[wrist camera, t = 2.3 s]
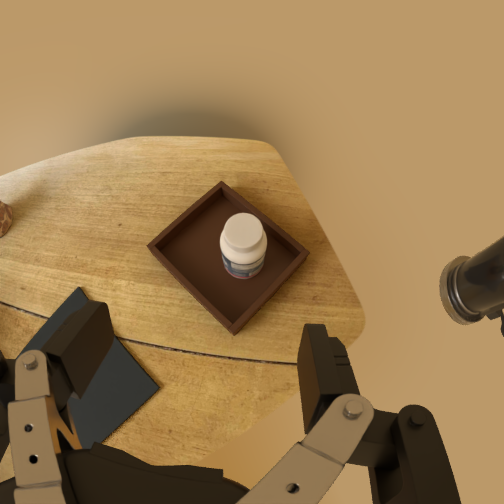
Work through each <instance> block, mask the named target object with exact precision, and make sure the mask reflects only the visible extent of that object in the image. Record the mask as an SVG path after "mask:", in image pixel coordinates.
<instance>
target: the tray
mask: <svg viewBox="0 0 504 504" xmlns="http://www.w3.org/2000/svg"><path fill="white" fill-rule="evenodd" d="M239 213H248V214H252V215H254V216H255V217H257V218H258V219H259V220H260V222H261V224H262V226H263V230H264V231H265V234H266V237H267V247H266V252H265V258H264V264H263V267H262V269H261V271H260V272H259V273H258V274H257V275H255V276H253V277H251V278H247V279H240V278H236V277H234V276H232V275H231V274H230V273H229V272H228V271H227V270H226V268H225V266H224V263H223V258H222V253H221V248H220V237H221V234H222V231H223V230H224V226H225V224H226V222H227V220H228V219H229V218H230V217H232V216H233V215H236V214H239ZM147 247H148V249H149V250H150V251H151V253H152V254H153V255H154V256H155V257H156V258H157V259H158V260H159V261H160V262H161V264H162V265H163V266H164V267H165V268H166V269H167V270H168V271H169V272H170V273H171V274H172V275H173V276H174V277H175V278H176V279H177V280H178V281H179V282H180V283H181V284H182V285H183V286H184V287H185V289H186V290H187V291H188V292H189V293H190V294H191V295H192V296H193V297H194V298H195V299H196V300H197V301H198V302H199V303H200V304H201V305H202V306H203V307H204V308H205V309H207V310H208V311H209V312H210V313H211V314H212V315H213V316H214V317H215V318H216V319H217V320H218V321H219V322H220V323H221V324H222V325H223V326H224V327H225V328H226V329H227V330H228V331H229V332H230V333H232V334H233V335H235V334H236V333H237V332H238V331H239V330H240V329H241V328H242V327H243V326H244V325H245V324H246V323H247V322H248V321H249V320H250V319H251V318H252V317H253V316H254V315H255V314H256V313H257V312H258V311H259V310H260V309H261V307H262V306H263V305H264V304H265V303H266V302H267V301H268V300H269V299H270V298H271V297H272V296H273V295H274V294H275V293H276V292H277V290H278V289H279V288H280V287H281V286H282V285H283V284H284V283H285V282H286V281H287V280H288V279H289V278H290V276H291V275H292V274H293V273H294V272H295V271H296V270H297V269H298V268H299V267H300V266H301V264H302V263H303V262H304V261H305V260H306V258H307V256H308V255H309V251H308V250H306V249H305V248H304V247H303V246H302V245H301V244H299V243H298V242H297V241H296V240H295V239H293V238H292V237H291V236H290V235H288V234H287V233H286V232H285V231H284V230H282V229H281V228H280V227H279V226H278V225H276V224H275V223H274V222H273V221H271V220H270V219H269V218H268V217H266V216H265V215H264V214H263V213H262V212H260V211H259V210H258V209H257V208H255V207H254V206H253V205H252V204H250V203H249V202H248V201H247V200H245V199H244V198H243V197H242V196H240V195H239V194H238V193H237V192H235V191H234V190H233V189H231V188H230V187H229V186H228V185H226V184H225V183H224V182H223V181H220V182H219V183H218V184H217V185H216V186H214V187H213V188H212V189H211V190H210V191H208V192H207V193H206V194H205V195H204V196H202V197H201V198H200V199H199V200H198V201H196V202H195V203H194V204H193V205H192V206H191V207H189V208H188V209H187V210H186V211H185V212H184V213H182V214H181V215H180V216H179V217H178V218H177V219H176V220H174V221H173V222H172V223H171V224H170V225H169V226H168V227H167V228H165V229H164V230H163V231H162V232H161V233H160V234H159V235H158V236H157V237H156V238H154V239H153V240H152V241H151V242H150V243H149V244H148V245H147Z"/></svg>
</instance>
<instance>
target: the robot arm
mask: <svg viewBox="0 0 504 504" xmlns="http://www.w3.org/2000/svg"><path fill="white" fill-rule="evenodd" d="M452 288H453V294H454V297H455V299H456V302H457V304H458V305H459V307H460V308H461V309H462V310H463V311H464V312H465V313H467V314H470V315H477V316H478V317H482V316H485V315H486V316H487V317H488V318H489V319H490V320H492V319H495V318H498V317H500V316H501V320H502V326H501V332H502V335H503V336H504V314H503V312H502V309H504V236H503V237H501V238H500V239H498V240H497V241H496V242H494V243H493V244H491V245H490V246H488V247H487V248H485V249H484V250H482V251H481V252H479V253H477V254H476V255H475V256H473V257H472V258H470V259H468V260H466V261H464V262H462V263H461V264H459V265H458V266H457V267H456V269H455V271H454V273H453V278H452ZM113 341H114V331H113V327H112V323H111V318H110V314H109V309H108V306H107V304H106V303H105V302H99V301H93V300H89V301H87V302H86V304H85V305H84V306H83V307H82V308H81V309H80V310H77V311H75V312H74V313H72V314H70V315H69V316H68V317H67V318H66V319H65V320H64V322H63V324H61V325H60V326H59V327H58V330H56V331H55V332H54V333H53V334H52V336H51V337H50V338H49V339H48V340H47V342H46V343H45V344H44V345H43V347H42V348H41V349H40V350H29V351H26V352H24V353H23V354H21V355H20V356H19V357H18V358H17V360H16V359H5V358H4V356H3V354H2V352H1V350H0V462H1V460H2V458H3V455H4V453H5V451H6V449H7V447H8V445H9V443H10V446H11V454H12V461H13V468H14V474H15V477H13V478H10V479H8V480H6V481H3V482H1V483H0V504H318V503H319V501H320V500H321V499H322V498H323V496H324V495H325V494H326V492H327V491H328V490H329V488H330V487H331V485H332V484H333V483H334V481H335V480H336V478H337V477H338V476H339V474H340V473H341V471H342V470H343V468H344V466H345V464H346V463H349V464H355V465H361V466H368V471H369V478H370V485H371V493H372V501H373V504H461V501H460V497H459V493H458V490H457V486H456V482H455V479H454V475H453V472H452V469H451V466H450V462H449V459H448V456H447V453H446V450H445V447H444V444H443V441H442V438H441V435H440V433H439V430H438V427H437V425H436V422H435V419H434V417H433V415H432V414H431V412H430V411H429V410H427V409H426V408H425V407H422V406H420V405H408V406H405V407H404V408H402V409H401V410H400V412H399V413H398V414H397V413H391V412H385V411H380V410H377V409H374V408H373V406H372V404H371V403H370V402H369V401H368V400H367V399H366V398H364V397H362V396H361V395H360V392H359V389H358V386H357V383H356V380H355V377H354V373H353V370H352V367H351V366H350V361H349V358H348V355H347V351H346V348H345V346H344V345H343V344H342V342H341V341H340V340H339V339H338V338H337V337H328V334H327V330H326V327H325V325H324V324H305V325H304V328H303V333H302V338H301V342H300V347H299V352H298V358H297V369H298V377H299V386H300V394H301V403H302V412H303V421H304V431H305V434H307V436H306V437H305V438H304V439H303V440H302V441H301V442H297V443H296V444H295V445H294V446H293V447H292V448H291V449H290V450H289V451H288V452H287V453H286V455H284V456H283V458H282V459H281V460H280V461H279V462H278V463H277V464H276V465H275V466H274V467H273V468H272V469H271V470H270V471H269V472H268V473H267V474H266V475H265V477H263V478H262V479H261V480H260V481H259V482H258V483H257V484H256V485H255V486H254V487H253V488H252V489H251V490H249V489H248V488H247V487H245V486H243V485H241V484H240V483H238V482H235V481H233V480H230V479H227V478H225V477H223V469H214V468H206V467H198V466H192V465H174V466H154V465H150V464H148V463H146V462H144V461H142V460H140V459H138V458H136V457H134V456H132V455H130V454H128V453H126V452H125V451H123V450H120V449H116V448H113V447H110V446H107V445H104V444H101V443H98V442H95V441H94V443H93V445H92V447H91V449H83V448H82V446H81V444H80V442H79V440H78V436H77V433H76V429H75V425H74V421H73V417H72V413H71V409H70V405H69V403H68V400H69V398H70V397H73V398H76V399H79V400H81V398H82V396H83V395H84V393H85V391H86V389H87V387H88V386H89V384H90V382H91V380H92V379H93V377H94V375H95V373H96V372H97V370H98V368H99V367H100V365H101V363H102V362H103V360H104V358H105V356H106V355H107V353H108V352H109V350H110V348H111V347H112V344H113Z"/></svg>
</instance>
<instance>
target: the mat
mask: <svg viewBox="0 0 504 504" xmlns="http://www.w3.org/2000/svg"><path fill="white" fill-rule="evenodd" d="M87 301H89V300H88V298H87V297H86V295H85V294H84V292H83V291H82V289H81V288H80V287H78V288H77V289H76V290H75V291H74V292H73V293H72V294H71V295H70V296H69V297H68V298H67V299H66V300H65V301H64V303H63V304H62V305H61V306H60V307H59V308H58V309H57V310H56V311H55V313H54V314H53V315H52V316H51V317H50V318H49V319H48V320H47V322H46V323H45V324H44V325H43V326H42V327H41V329H40V330H39V331H38V332H37V333H36V334H35V336H34V337H33V338H32V339H31V340H30V342H29V343H28V344H27V345H26V347H25V348H24V349H23V350H22V352H21V353H20V354H19V355H18V357H19V356H20V355H21V354H23V353H24V352H26V351H29V350H40V349H41V348H42V347H43V345H44V344H45V343H46V342H47V340H48V339H49V338H50V337H51V336H52V334H53V333H54V332H55V331H56V330H58V327H59V326H60V325H61V324H63V322H64V320H65V319H66V318H67V317H68V316H69V315H70V314H72V313H74V312H75V311H77V310H80V309H81V308H82V307H83V306H84V305H85V304H86V302H87ZM18 357H17V358H18ZM17 358H16V360H17ZM159 388H160V387H159V386H158V385H157V384H156V383H155V382H154V380H153V379H152V378H151V377H150V376H149V375H148V374H147V373H146V372H145V371H144V369H143V368H142V367H141V366H140V365H139V364H138V363H137V361H136V360H135V359H134V358H133V357H132V356H131V354H130V353H129V352H128V351H127V350H126V348H125V347H124V346H123V345H122V343H121V342H120V341H119V340H118V339H117V337H116V336H115V335H114V341H113V344H112V347H111V348H110V350H109V352H108V353H107V355H106V356H105V358H104V360H103V362H102V363H101V365H100V367H99V368H98V370H97V372H96V373H95V375H94V377H93V379H92V380H91V382H90V384H89V386H88V387H87V389H86V391H85V393H84V395H83V396H82V398H81V400H79V399H76V398H73V397H70V398H69V400H68V403H69V405H70V409H71V413H72V417H73V421H74V425H75V429H76V433H77V436H78V440H79V442H80V444H81V446H82V448H83V449H91V447H92V445H93V443H94V441H95V442H98V443H101V442H102V441H104V440H105V439H106V438H107V437H108V436H109V435H110V434H111V433H112V432H113V431H115V430H116V429H117V428H118V427H119V426H120V425H121V424H122V423H123V422H124V421H125V420H127V419H128V418H129V417H130V416H131V415H132V414H133V413H134V412H135V411H136V410H137V409H138V408H139V407H140V406H142V405H143V404H144V403H145V402H146V401H147V400H148V399H149V398H150V397H151V396H152V395H153V394H154V393H155V392H156V391H157V390H158V389H159Z"/></svg>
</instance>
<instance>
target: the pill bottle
mask: <svg viewBox="0 0 504 504" xmlns="http://www.w3.org/2000/svg"><path fill="white" fill-rule="evenodd" d="M266 247H267V237H266V234H265V231H264V230H263V226H262V224H261V222H260V220H259V219H258V218H257V217H255V216H254V215H252V214H248V213H239V214H236V215H233V216H232V217H230V218H229V219H228V220H227V222H226V224H225V226H224V230H223V231H222V234H221V237H220V248H221V253H222V258H223V263H224V266H225V268H226V270H227V271H228V272H229V273H230V274H231V275H232V276H234V277H236V278H240V279H247V278H251V277H253V276H255V275H257V274H258V273H259V272H260V271H261V269H262V267H263V264H264V258H265V252H266Z"/></svg>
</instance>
